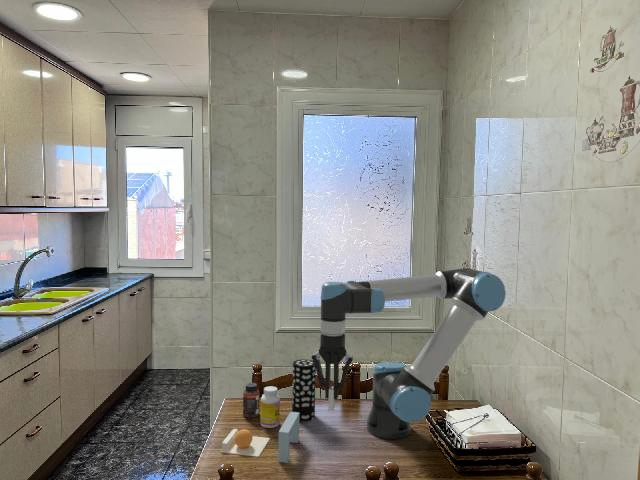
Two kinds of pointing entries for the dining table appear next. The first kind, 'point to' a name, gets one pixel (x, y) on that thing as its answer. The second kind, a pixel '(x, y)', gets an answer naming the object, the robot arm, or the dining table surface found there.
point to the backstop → (229, 439)
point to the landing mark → (249, 447)
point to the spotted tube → (304, 389)
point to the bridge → (288, 436)
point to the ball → (243, 438)
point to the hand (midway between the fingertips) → (331, 408)
